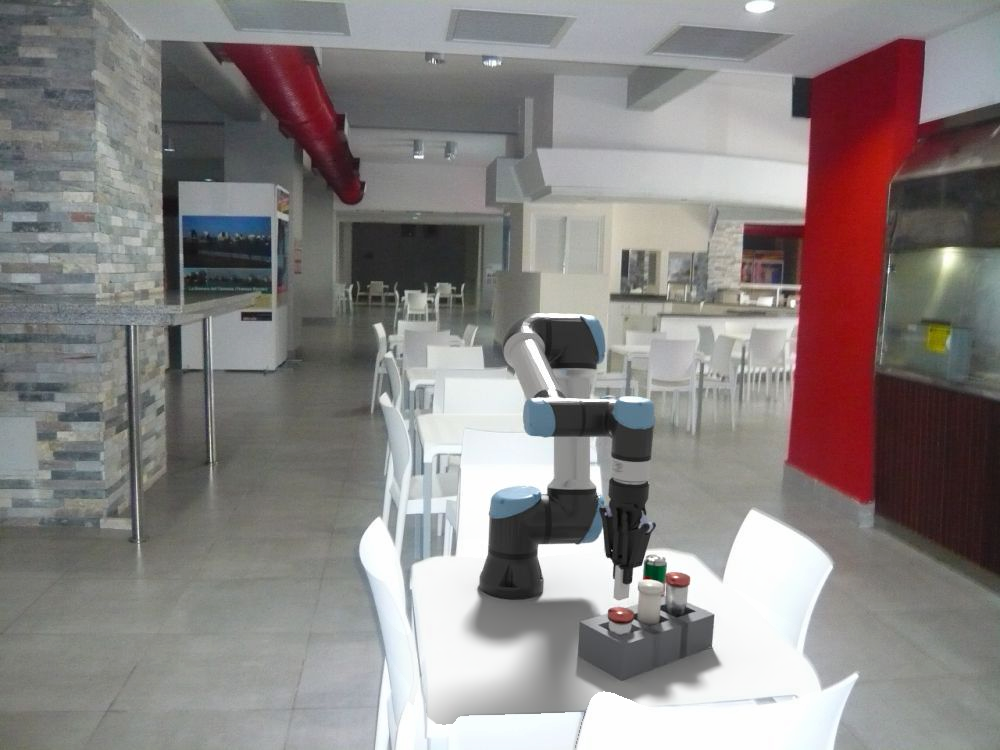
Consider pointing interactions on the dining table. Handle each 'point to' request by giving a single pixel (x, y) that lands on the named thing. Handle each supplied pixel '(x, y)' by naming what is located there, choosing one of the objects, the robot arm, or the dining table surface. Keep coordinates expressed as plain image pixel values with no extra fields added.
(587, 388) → the robot arm
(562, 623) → the dining table surface
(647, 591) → the white capped bottle
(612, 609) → the red-capped vial
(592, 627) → the gray vial holder
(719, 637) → the dining table surface
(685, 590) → the clear jar
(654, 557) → the soda can
